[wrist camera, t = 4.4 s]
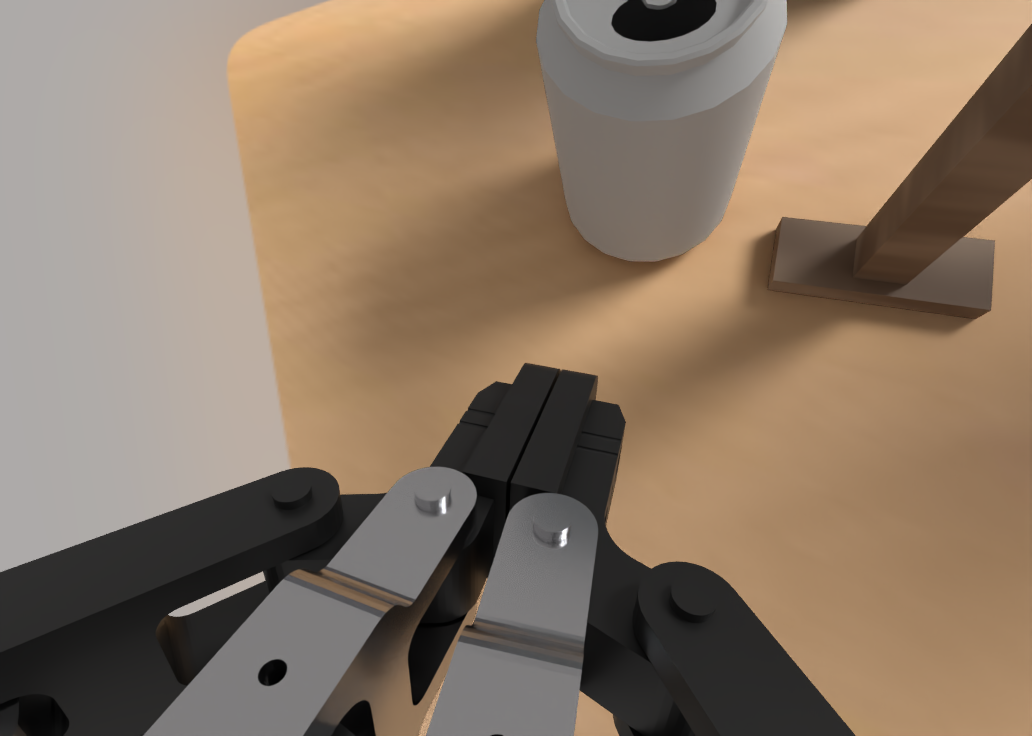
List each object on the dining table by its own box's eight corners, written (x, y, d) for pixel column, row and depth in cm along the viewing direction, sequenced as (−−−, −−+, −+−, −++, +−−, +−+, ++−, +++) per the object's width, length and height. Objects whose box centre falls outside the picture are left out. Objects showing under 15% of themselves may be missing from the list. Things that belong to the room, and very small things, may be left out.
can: (573, 280, 27) (535, 101, 15) (561, 143, 29) (519, -104, 17) (740, 259, 26) (832, 48, 14) (715, 118, 28) (778, -165, 16)
